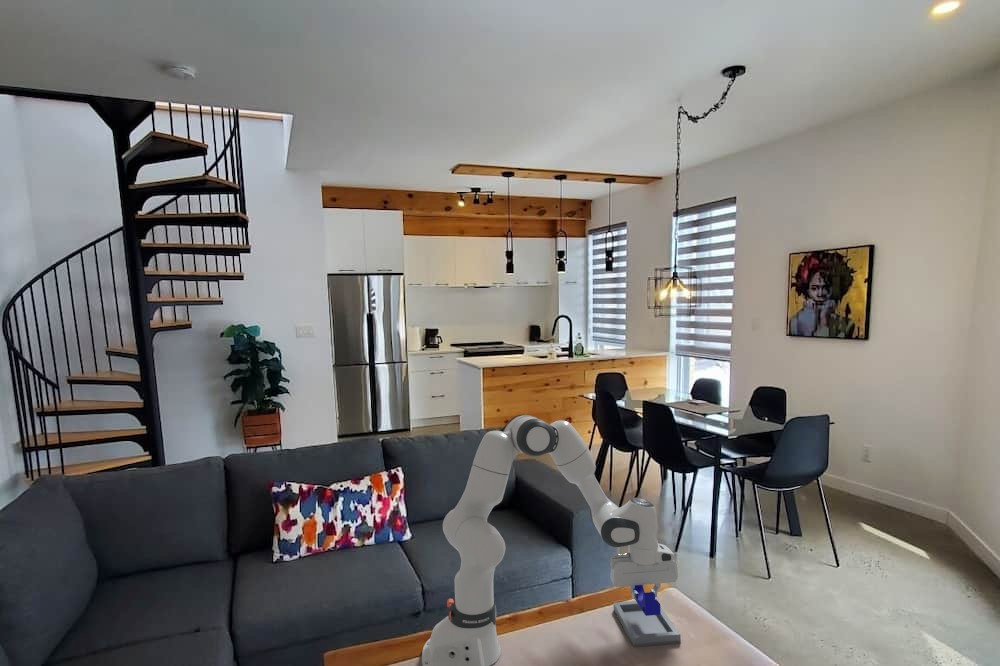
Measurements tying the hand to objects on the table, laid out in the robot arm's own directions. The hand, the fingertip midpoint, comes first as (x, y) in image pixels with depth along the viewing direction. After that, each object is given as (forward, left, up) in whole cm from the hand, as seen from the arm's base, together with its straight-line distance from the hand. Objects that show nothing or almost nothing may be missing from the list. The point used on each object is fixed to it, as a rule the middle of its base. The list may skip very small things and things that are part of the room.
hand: (644, 597), depth 149 cm
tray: (0, 0, -9) cm, 9 cm away
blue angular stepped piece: (0, -1, -2) cm, 2 cm away
